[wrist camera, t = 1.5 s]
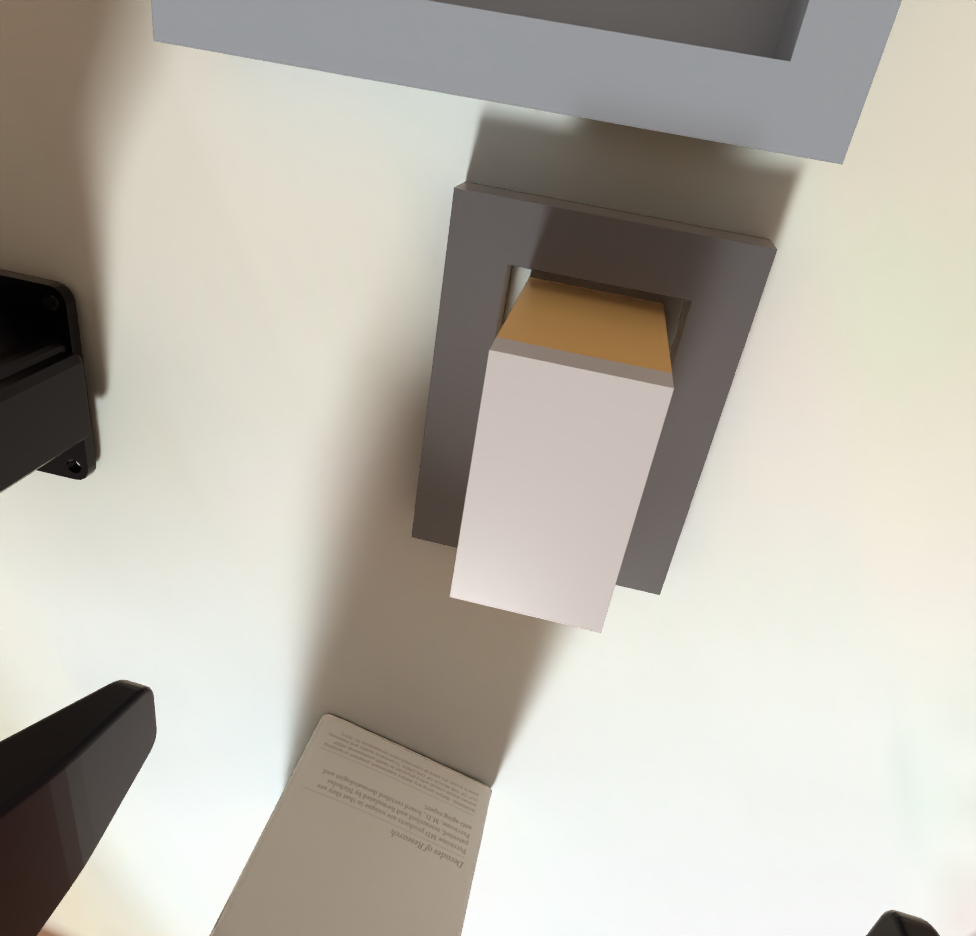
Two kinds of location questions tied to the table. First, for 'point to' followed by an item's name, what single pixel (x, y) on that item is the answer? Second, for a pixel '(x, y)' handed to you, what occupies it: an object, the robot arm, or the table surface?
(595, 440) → the white and orange block
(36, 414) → the robot arm
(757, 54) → the tray
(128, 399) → the table surface
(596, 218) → the holder
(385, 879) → the supplement box
